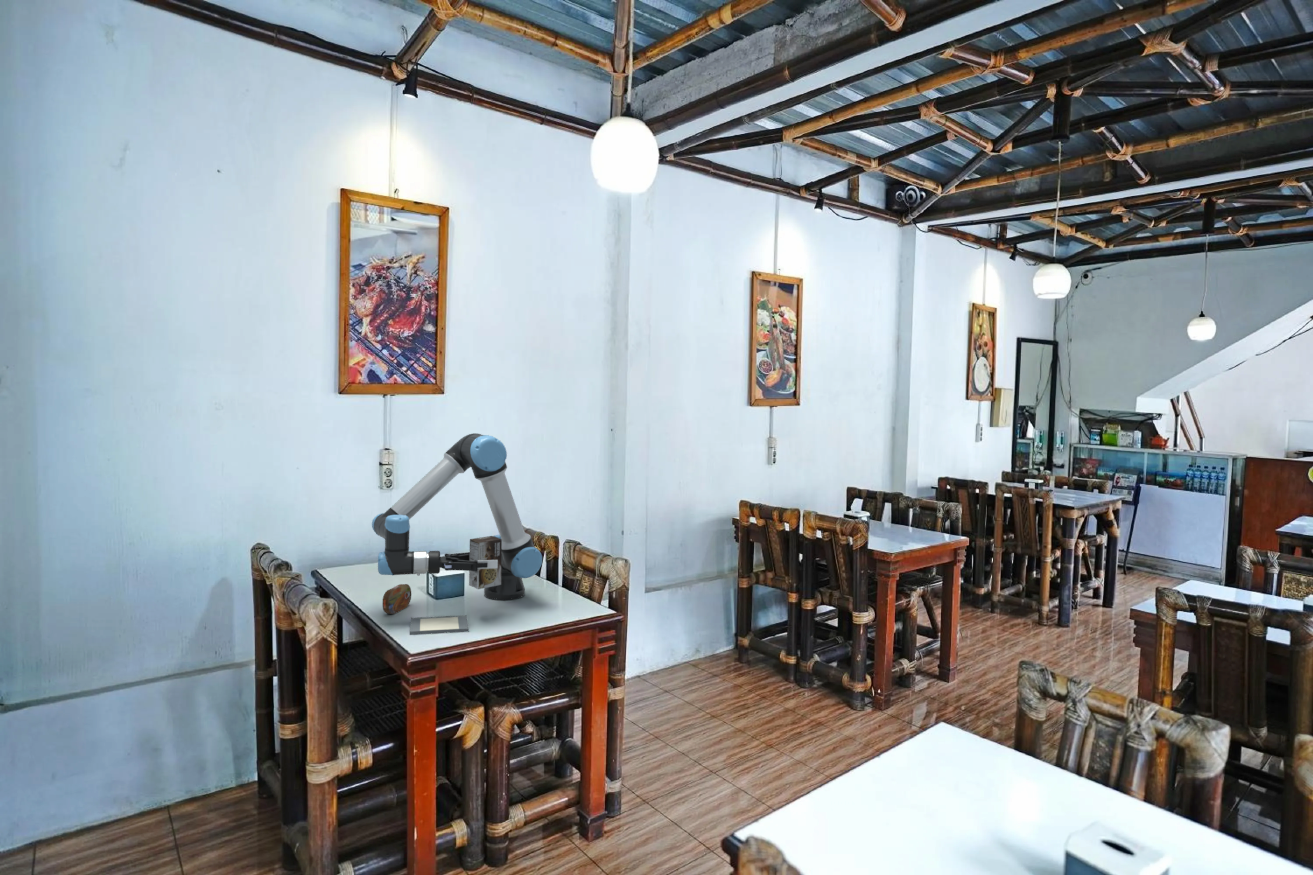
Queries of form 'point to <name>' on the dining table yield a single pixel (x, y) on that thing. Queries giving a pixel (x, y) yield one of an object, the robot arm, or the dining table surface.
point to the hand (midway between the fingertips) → (496, 560)
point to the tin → (396, 598)
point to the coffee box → (485, 551)
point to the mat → (438, 624)
